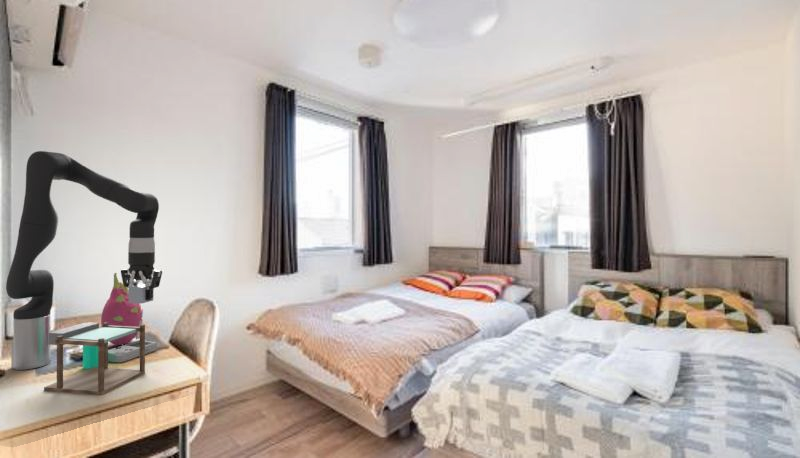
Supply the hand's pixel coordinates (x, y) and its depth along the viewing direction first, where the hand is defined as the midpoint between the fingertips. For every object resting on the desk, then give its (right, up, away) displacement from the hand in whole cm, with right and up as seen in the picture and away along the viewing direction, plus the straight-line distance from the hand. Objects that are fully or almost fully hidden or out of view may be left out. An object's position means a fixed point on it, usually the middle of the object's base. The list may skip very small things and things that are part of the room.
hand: (141, 299), depth 129 cm
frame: (-7, -24, -10) cm, 27 cm away
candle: (-18, -24, +2) cm, 30 cm away
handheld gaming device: (-13, -24, +13) cm, 30 cm away
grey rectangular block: (0, -1, 0) cm, 1 cm away
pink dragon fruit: (-25, -23, +24) cm, 42 cm away
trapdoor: (-8, -11, -10) cm, 17 cm away
